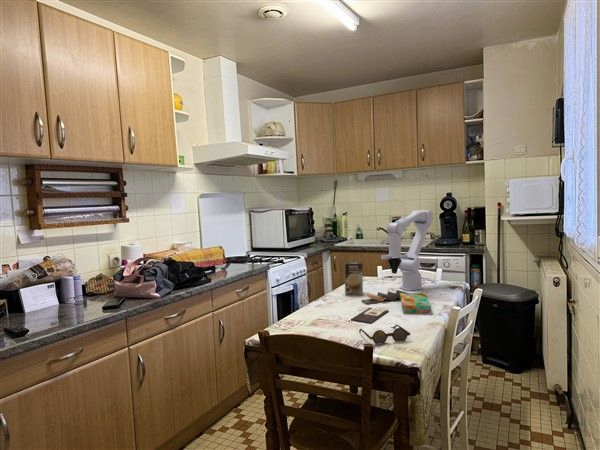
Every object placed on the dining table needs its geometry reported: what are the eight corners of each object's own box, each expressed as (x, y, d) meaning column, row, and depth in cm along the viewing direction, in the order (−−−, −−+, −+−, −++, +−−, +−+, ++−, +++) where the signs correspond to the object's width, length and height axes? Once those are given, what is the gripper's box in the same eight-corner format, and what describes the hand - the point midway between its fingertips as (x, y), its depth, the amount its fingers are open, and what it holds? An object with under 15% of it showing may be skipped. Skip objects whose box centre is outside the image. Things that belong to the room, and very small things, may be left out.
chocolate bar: (350, 319, 160) (369, 307, 174) (350, 321, 160) (369, 309, 174) (371, 322, 154) (388, 310, 169) (371, 325, 155) (388, 312, 169)
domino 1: (374, 298, 187) (361, 300, 186) (379, 301, 183) (366, 302, 181) (374, 301, 188) (361, 303, 186) (379, 304, 183) (366, 306, 181)
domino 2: (380, 296, 189) (367, 292, 188) (384, 298, 184) (370, 294, 183) (380, 299, 189) (366, 295, 188) (383, 301, 184) (369, 298, 183)
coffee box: (345, 295, 199) (344, 263, 198) (344, 291, 206) (344, 261, 204) (363, 294, 198) (362, 263, 197) (362, 291, 205) (361, 261, 203)
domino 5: (408, 292, 193) (396, 289, 190) (414, 295, 188) (402, 292, 186) (407, 295, 193) (395, 293, 190) (413, 298, 188) (401, 295, 186)
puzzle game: (401, 303, 166) (400, 291, 185) (402, 314, 166) (400, 301, 186) (430, 303, 163) (425, 291, 183) (431, 314, 164) (426, 301, 183)
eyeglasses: (370, 346, 133) (370, 332, 133) (356, 331, 148) (356, 318, 148) (410, 341, 136) (410, 327, 136) (393, 327, 151) (392, 315, 150)
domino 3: (390, 295, 190) (378, 292, 188) (395, 297, 185) (382, 294, 183) (389, 298, 190) (377, 295, 188) (394, 301, 185) (381, 297, 183)
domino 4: (399, 294, 191) (388, 291, 189) (405, 296, 187) (393, 293, 184) (399, 297, 191) (387, 294, 189) (405, 299, 187) (393, 296, 184)
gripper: (386, 247, 191) (386, 275, 191) (411, 246, 196) (411, 273, 196) (379, 246, 197) (378, 272, 198) (403, 245, 202) (402, 271, 203)
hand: (394, 273), depth 197 cm, fingers closed
